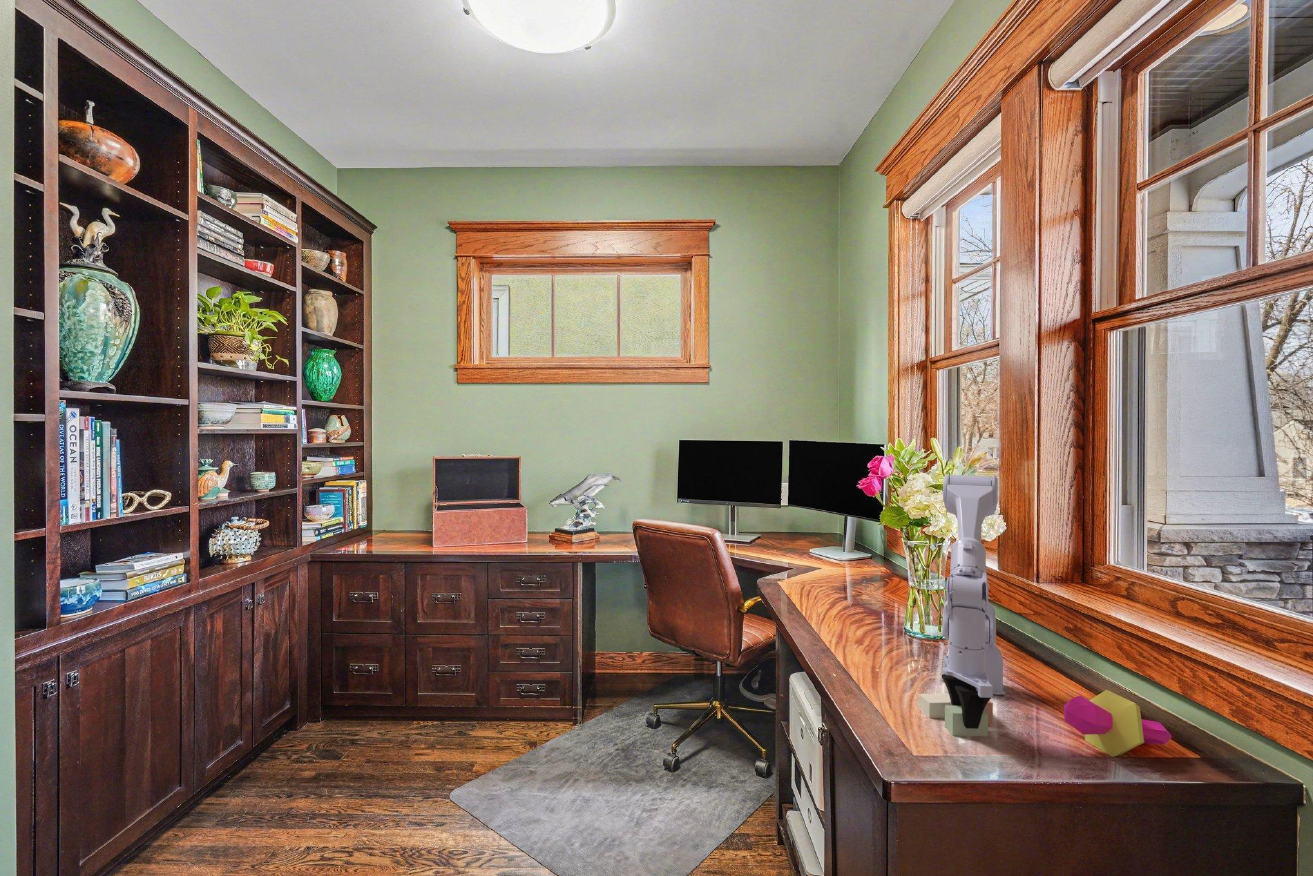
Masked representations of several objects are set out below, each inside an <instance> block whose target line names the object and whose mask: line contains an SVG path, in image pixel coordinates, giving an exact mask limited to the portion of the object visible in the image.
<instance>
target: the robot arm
mask: <svg viewBox="0 0 1313 876" xmlns="http://www.w3.org/2000/svg"><path fill="white" fill-rule="evenodd" d="M942 483H943V484H942V502H943V505H944V509H945V511H946V512H947V513H949V514H952V515H953V516H955V517H956V519H957V520H956V521H957V531H958V534H957V535H958V539H957V540H956V541H954V542H953V543H952V544H951V547H950V549H951V550H950V568H949V569H950V571H949V576H948V577H947V579H946V591H945V592H946V597H945V598H946V600H945V602H944V603H943V611H942V637H943V638H944V639H945V640H947V641H948V655H943V662H942V663H943V667H942V668H941V672H942V674H941V681H943V683H944V684H945V687H946V689H947V692H948V693H947V694H949V696H950V700H951V705H952V706H961V707H962V716H963V723H964V726H965V727H966V728H972V729H978V727H979V724H980V721H981V717H982V714H983V711H984V709H985V706H986V705H987V703H988V701H989V700H990V701H991V699H992V698H993V696H994V695H998V696H999V695H1005V691H1004V659H1003V655H1002V652H1001V650H1000V648H999V647H998V646H997V645H995V644H996V642H997V641H996V640H997V616H996V609H995V608H994V605H993V604H992V603H990V602H989V581H988V576H987V569H986V567H987V562H986V561H987V560H986V559H987V558H986V556H987V555H986V554H987V553H986V552H987V549H986V547H985V545H984V544H983V543H982V525H983V523H984V521H985V518H987V517H989V516H992V515H995V513H996V511H997V505H998V501H999V500H998V497H999V495H998V493H999V491H998V490H999V483H998V477H997V476H996V475H995V474H994V475H993V474H991V475H976V474H975V475H974V474H973V475H972V474H971V475H970V474H966V475H965V474H950V473H945V475H944V476H943V482H942Z"/></svg>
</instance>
